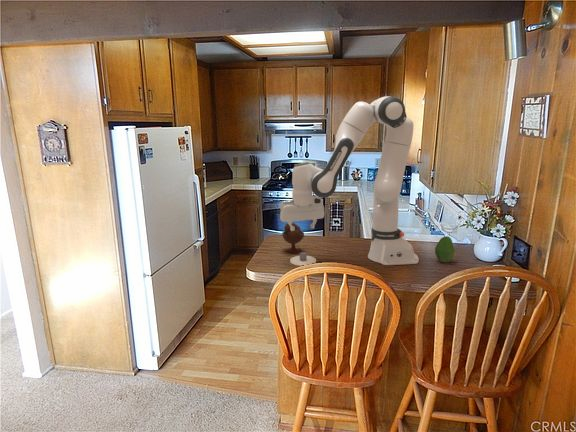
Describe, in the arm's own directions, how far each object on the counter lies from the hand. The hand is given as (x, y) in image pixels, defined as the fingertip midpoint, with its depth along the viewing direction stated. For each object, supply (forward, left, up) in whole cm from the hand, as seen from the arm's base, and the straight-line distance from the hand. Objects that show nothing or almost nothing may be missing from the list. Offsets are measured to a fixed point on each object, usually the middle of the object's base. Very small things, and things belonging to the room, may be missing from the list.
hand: (302, 229), depth 167 cm
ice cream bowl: (+6, -12, -15) cm, 21 cm away
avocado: (-63, -3, -15) cm, 65 cm away
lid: (0, 0, -16) cm, 16 cm away
